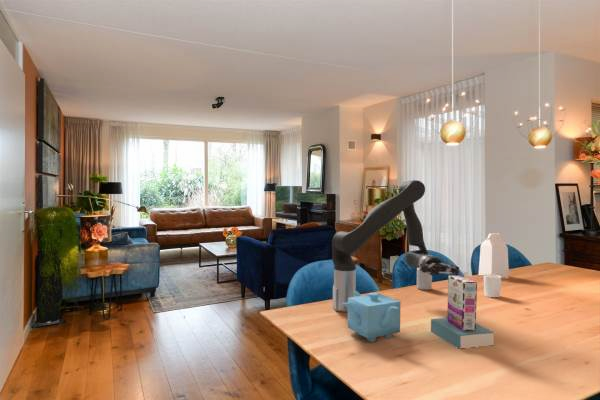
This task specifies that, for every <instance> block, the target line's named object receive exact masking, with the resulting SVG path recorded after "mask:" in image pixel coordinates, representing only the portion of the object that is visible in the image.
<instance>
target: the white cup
mask: <svg viewBox="0 0 600 400" xmlns="http://www.w3.org/2000/svg"><path fill="white" fill-rule="evenodd" d="M501 288H502V279H501V276H499V275H494V274H485V275H484V276H483V293H484V296H485V297H486V298H491V297H494V298H493V299H496V298H495V297H499V298H500V297H501Z"/></svg>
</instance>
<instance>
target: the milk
mask: <svg viewBox="0 0 600 400" xmlns="http://www.w3.org/2000/svg"><path fill="white" fill-rule="evenodd" d="M508 250H509V248H508V245H507V243H505V241H504V240H503V239H502V238H501V235H500V233H498V232H497V233H496V232H495V233H488V235H487V238H486V239H485V240H484V241H482V242H481V244H480V248H479V251H480V252H479V263H478V264H479V265H478V276H481V275H485V274H494V275H499V276H501V277H506V276H509V277H510V269H509V268H510V266H509V252H508Z"/></svg>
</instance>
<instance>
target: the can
mask: <svg viewBox="0 0 600 400" xmlns="http://www.w3.org/2000/svg"><path fill="white" fill-rule="evenodd" d="M432 281H433V275H430V274H428V273H424V272H422V271H420V270H419V268H416V288H417V289H418V290H421V291H430V290H431V289H433V288H432V287H433V286H432V285H433V284H432Z"/></svg>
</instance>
